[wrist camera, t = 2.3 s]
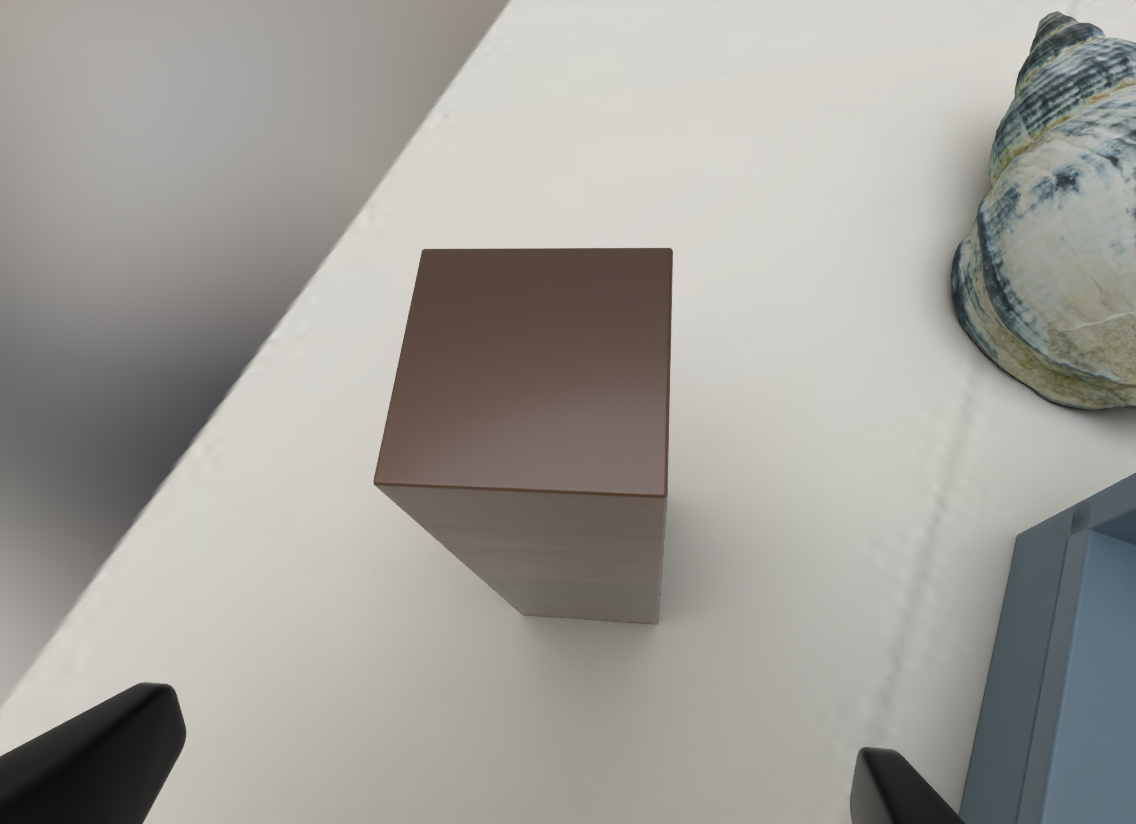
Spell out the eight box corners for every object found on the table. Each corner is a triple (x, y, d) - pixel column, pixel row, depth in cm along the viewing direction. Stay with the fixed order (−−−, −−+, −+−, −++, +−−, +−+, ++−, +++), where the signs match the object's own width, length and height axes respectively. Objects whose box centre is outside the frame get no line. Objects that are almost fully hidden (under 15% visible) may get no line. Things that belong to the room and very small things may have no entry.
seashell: (926, 393, 24) (1009, 152, 28) (1211, 433, 19) (1264, 136, 23) (904, 275, 20) (1006, 6, 23) (1266, 288, 15) (1321, -51, 19)
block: (658, 624, 20) (667, 497, 9) (521, 615, 21) (371, 484, 10) (661, 491, 22) (673, 246, 11) (535, 485, 23) (421, 247, 11)
